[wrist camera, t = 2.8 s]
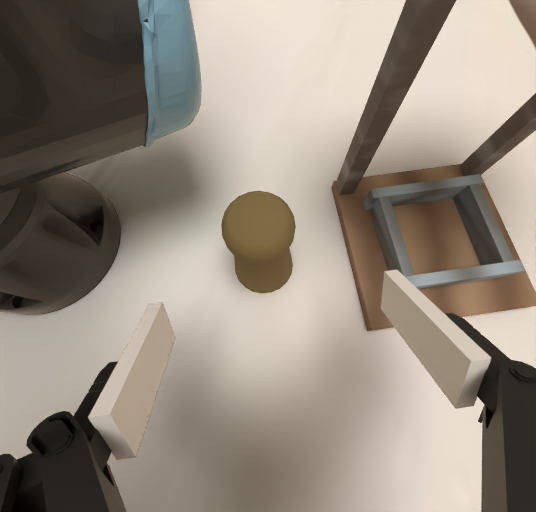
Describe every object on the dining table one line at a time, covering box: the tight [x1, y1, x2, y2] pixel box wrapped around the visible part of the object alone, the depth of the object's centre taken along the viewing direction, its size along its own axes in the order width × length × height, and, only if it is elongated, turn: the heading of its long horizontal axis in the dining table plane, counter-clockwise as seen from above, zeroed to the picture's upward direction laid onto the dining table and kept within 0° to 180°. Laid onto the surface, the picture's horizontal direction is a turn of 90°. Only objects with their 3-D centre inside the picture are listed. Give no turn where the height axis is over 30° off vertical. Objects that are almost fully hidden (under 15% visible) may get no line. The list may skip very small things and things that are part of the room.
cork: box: [222, 191, 295, 293], centre depth 22 cm, size 6×6×11 cm
